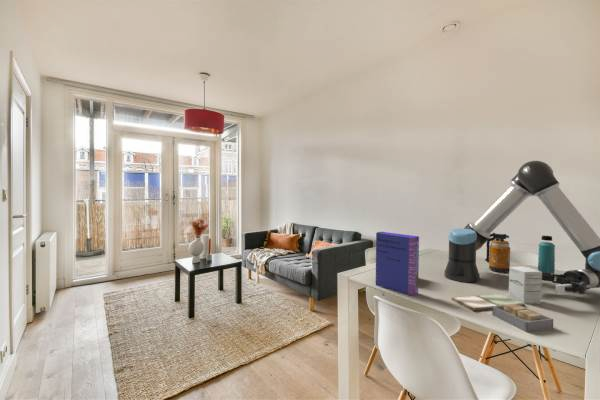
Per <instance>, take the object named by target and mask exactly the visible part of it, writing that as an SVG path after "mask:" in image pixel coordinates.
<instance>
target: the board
mask: <svg viewBox="0 0 600 400" xmlns="http://www.w3.org/2000/svg"><path fill="white" fill-rule="evenodd" d="M451 301H453V302H455V303H457V304H458V305H461V306H463V307H464V308H467V309H468V310H470V311H472V312H474V313H475V312H485V311H492V307H493V306H501V305H504V304H518V305H520V306H523V307H525V308H526V303H525V304H524V303H521V302H519V301H517V300H515V299H513V298H511V297H508V296H505V295H502V294H500V293H494V294H481V295H471V296H470V295H469V296H460V297H459V296H457V297H451Z"/></svg>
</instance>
